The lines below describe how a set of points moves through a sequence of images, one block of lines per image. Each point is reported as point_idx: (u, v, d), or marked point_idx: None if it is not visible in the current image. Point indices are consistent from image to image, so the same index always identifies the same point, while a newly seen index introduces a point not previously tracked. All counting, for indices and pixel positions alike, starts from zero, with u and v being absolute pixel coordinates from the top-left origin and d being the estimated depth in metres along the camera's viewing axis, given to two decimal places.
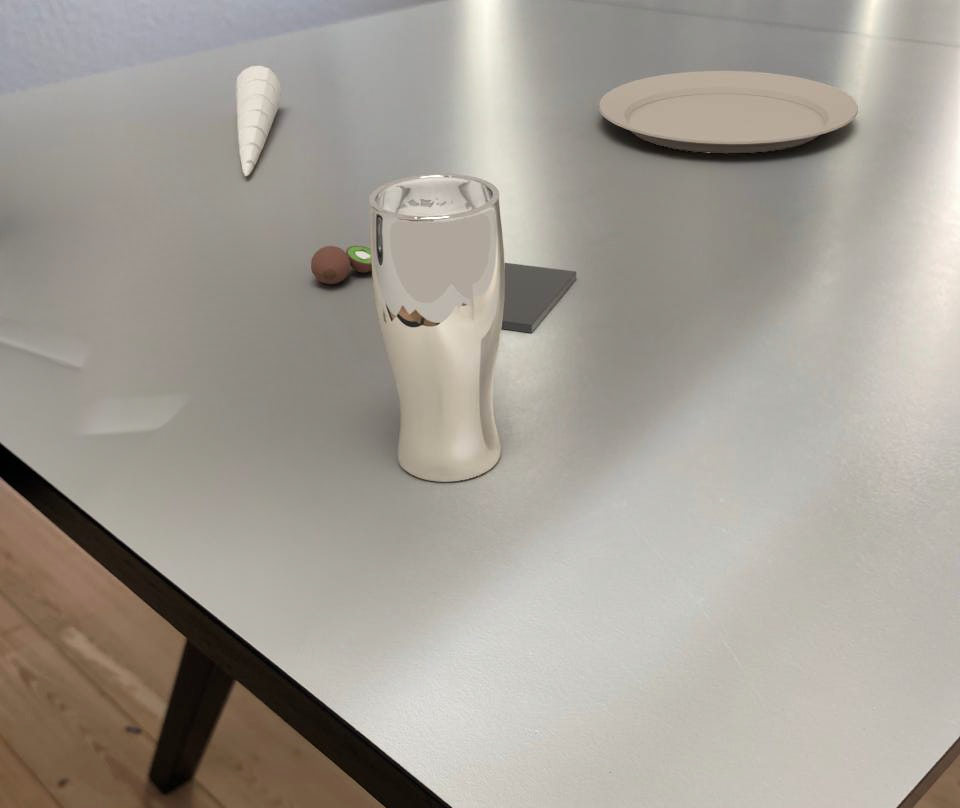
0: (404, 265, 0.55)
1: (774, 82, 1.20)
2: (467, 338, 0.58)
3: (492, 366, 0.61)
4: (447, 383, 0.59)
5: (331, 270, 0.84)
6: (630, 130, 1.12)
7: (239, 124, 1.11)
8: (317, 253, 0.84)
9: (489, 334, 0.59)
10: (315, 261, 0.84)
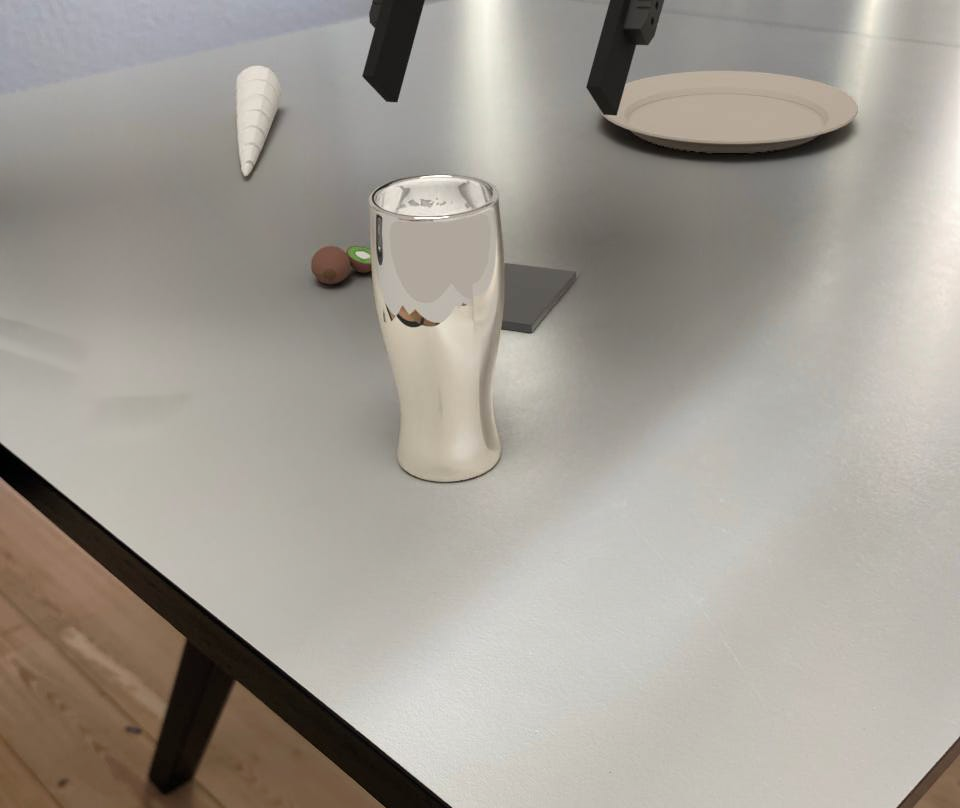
0: (404, 265, 0.55)
1: (774, 82, 1.20)
2: (467, 338, 0.58)
3: (492, 366, 0.61)
4: (447, 383, 0.59)
5: (331, 270, 0.84)
6: (630, 130, 1.12)
7: (239, 124, 1.11)
8: (317, 253, 0.84)
9: (489, 334, 0.59)
10: (315, 261, 0.84)
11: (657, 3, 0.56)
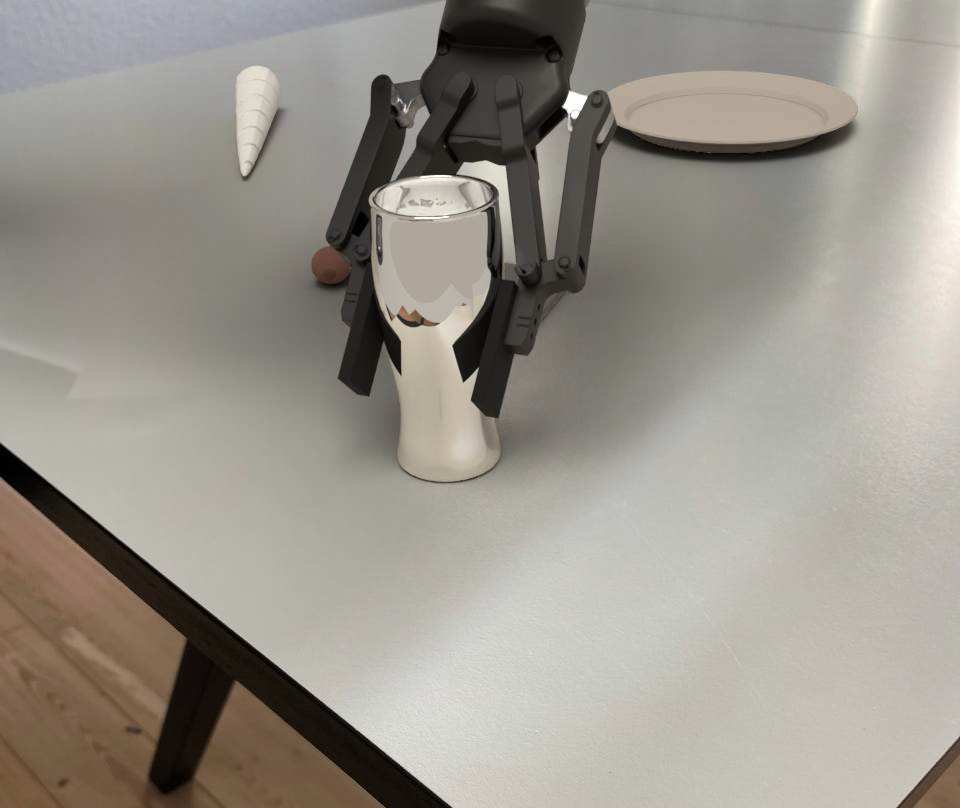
0: (404, 265, 0.55)
1: (774, 82, 1.20)
2: (467, 338, 0.58)
3: None
4: (447, 383, 0.59)
5: (332, 270, 0.84)
6: (630, 130, 1.12)
7: (238, 124, 1.11)
8: (317, 253, 0.84)
9: None
10: (315, 261, 0.84)
11: (535, 319, 0.58)
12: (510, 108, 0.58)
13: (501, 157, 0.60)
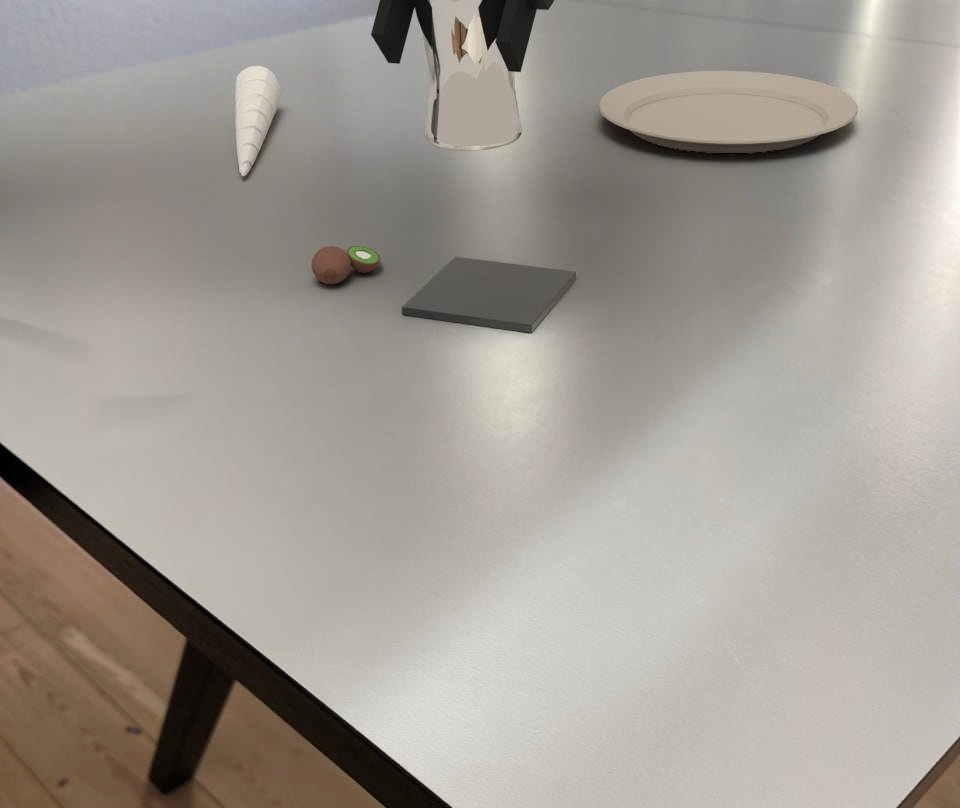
0: None
1: (774, 82, 1.20)
2: None
3: None
4: (473, 38, 0.64)
5: (332, 269, 0.84)
6: (630, 130, 1.12)
7: (237, 124, 1.11)
8: (317, 253, 0.84)
9: None
10: (315, 261, 0.84)
11: None
12: None
13: None
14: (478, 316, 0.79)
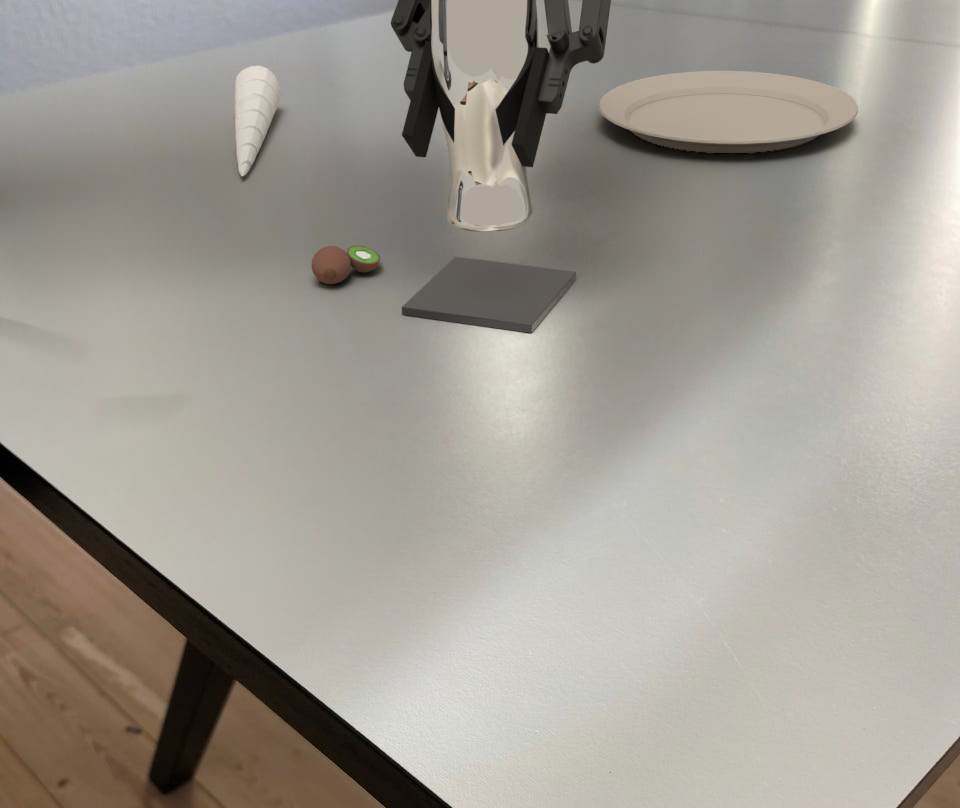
0: (459, 28, 0.69)
1: (774, 82, 1.20)
2: (508, 95, 0.71)
3: None
4: (491, 137, 0.73)
5: (332, 269, 0.84)
6: (630, 130, 1.12)
7: (237, 124, 1.11)
8: (318, 253, 0.84)
9: None
10: (315, 261, 0.84)
11: (563, 82, 0.72)
12: None
13: None
14: (478, 316, 0.79)
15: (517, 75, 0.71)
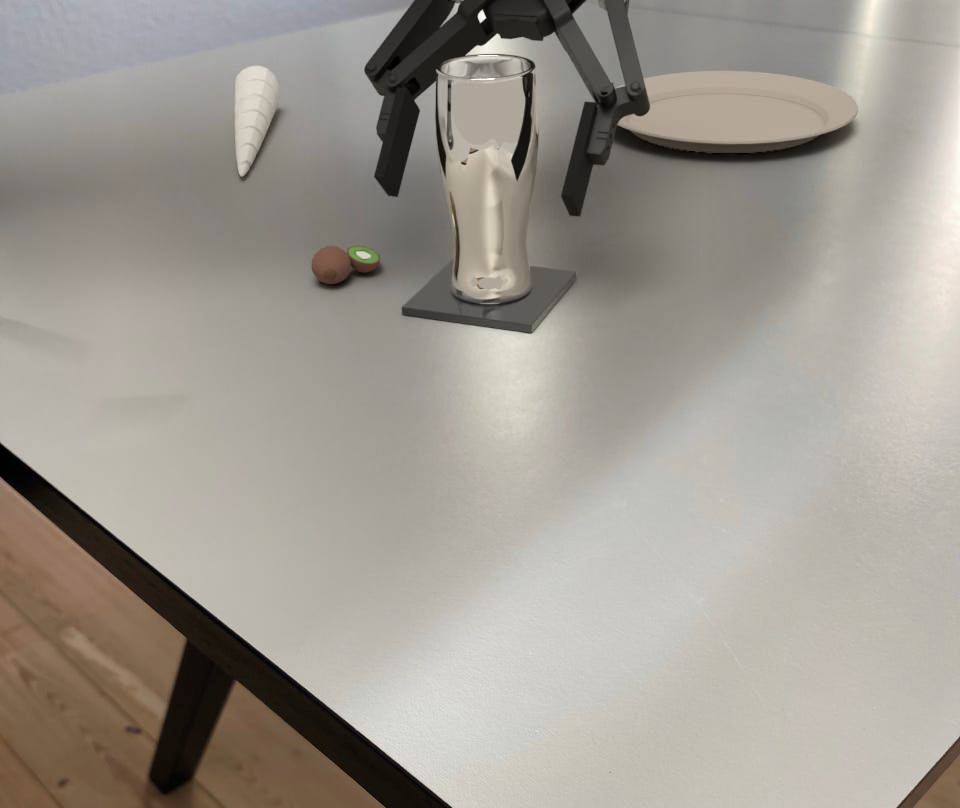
0: (463, 118, 0.72)
1: (774, 82, 1.20)
2: (509, 180, 0.75)
3: (527, 208, 0.78)
4: (493, 218, 0.76)
5: (332, 269, 0.84)
6: (630, 130, 1.12)
7: (236, 124, 1.11)
8: (318, 253, 0.84)
9: (526, 179, 0.76)
10: (315, 261, 0.84)
11: (611, 135, 0.74)
12: None
13: (535, 32, 0.76)
14: (478, 316, 0.79)
15: (518, 161, 0.74)
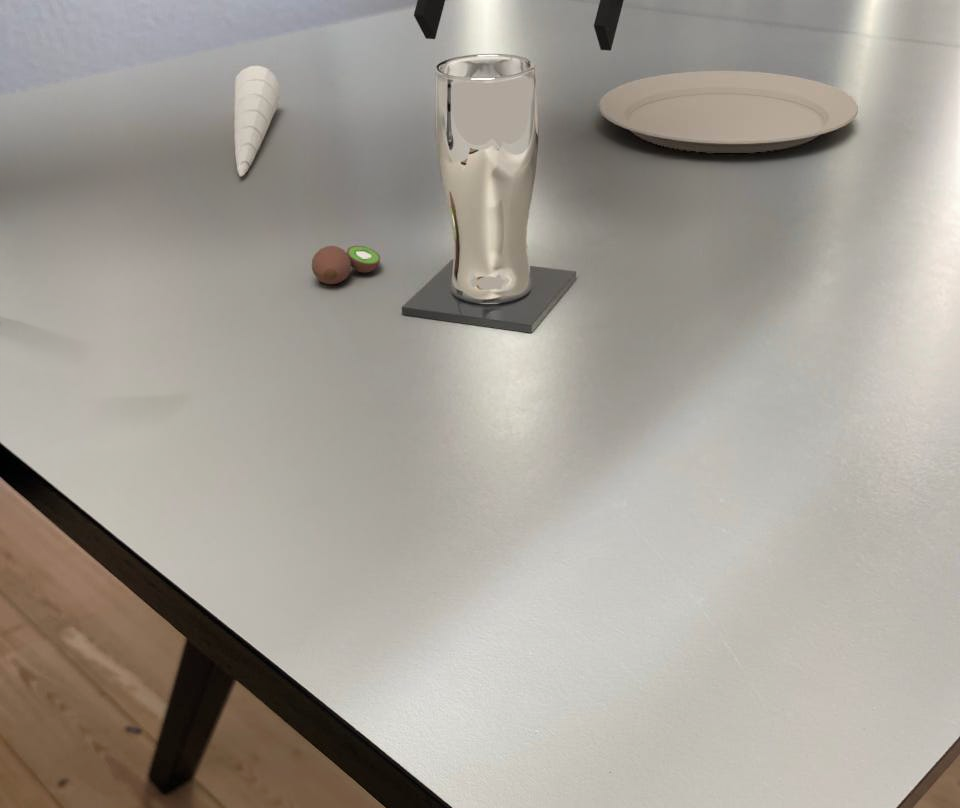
0: (463, 118, 0.72)
1: (774, 82, 1.20)
2: (509, 179, 0.75)
3: (527, 208, 0.78)
4: (493, 218, 0.76)
5: (332, 270, 0.84)
6: (630, 130, 1.12)
7: (236, 124, 1.11)
8: (318, 253, 0.84)
9: (526, 179, 0.76)
10: (315, 261, 0.84)
11: None
12: None
13: None
14: (478, 316, 0.79)
15: (518, 161, 0.74)
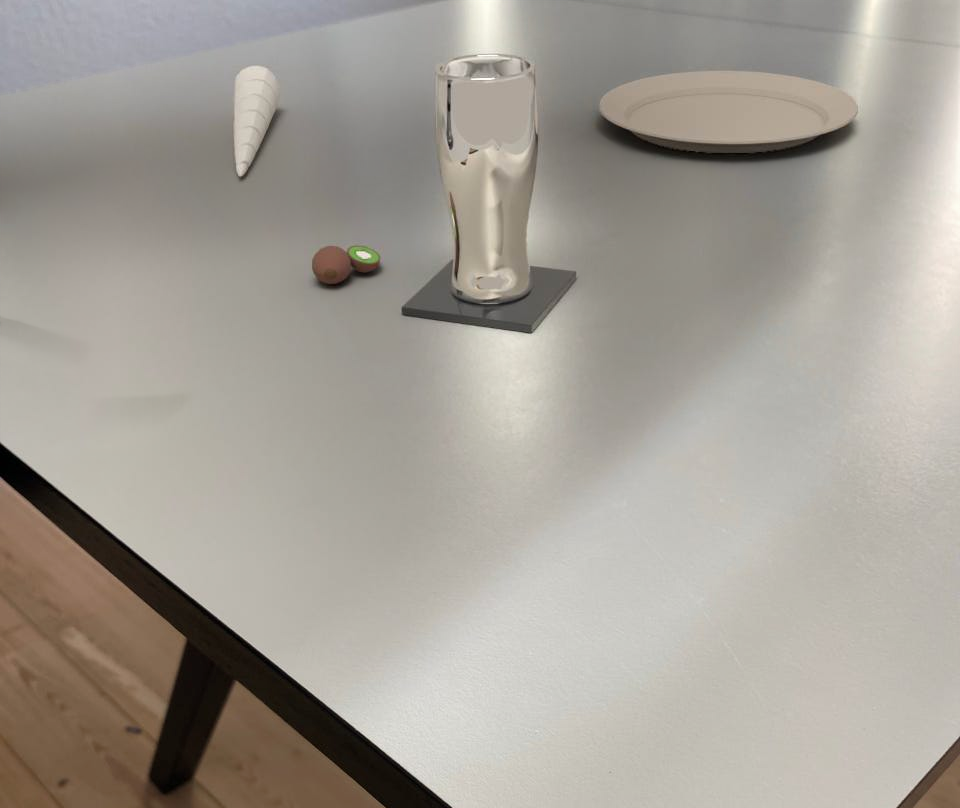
0: (462, 118, 0.72)
1: (774, 82, 1.20)
2: (509, 179, 0.75)
3: (527, 208, 0.78)
4: (493, 218, 0.76)
5: (332, 269, 0.84)
6: (630, 130, 1.12)
7: (235, 124, 1.11)
8: (318, 253, 0.84)
9: (526, 179, 0.76)
10: (315, 261, 0.84)
11: None
12: None
13: None
14: (478, 316, 0.79)
15: (518, 161, 0.74)
